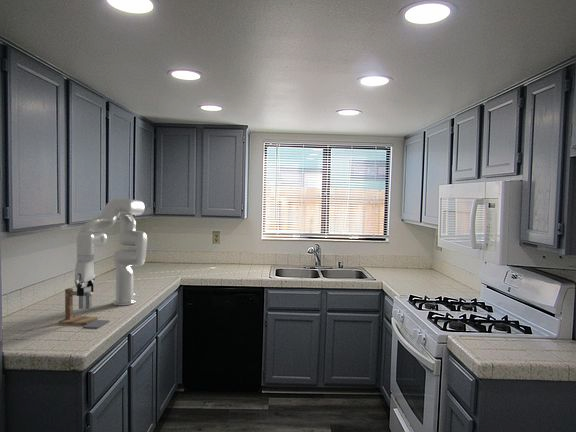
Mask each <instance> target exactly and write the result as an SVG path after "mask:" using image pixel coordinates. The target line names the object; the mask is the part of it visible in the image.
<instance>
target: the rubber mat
mask: <svg viewBox="0 0 576 432" xmlns="http://www.w3.org/2000/svg"><path fill="white" fill-rule="evenodd" d="M108 323H110V320H107V319H106V320H105V319H104V320H103V319H97V320H94V321H92V322H90V323H88V324H87V325H82V329H100V328H102V327H103V326H105V325H107V324H108Z"/></svg>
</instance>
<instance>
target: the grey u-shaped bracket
mask: <svg viewBox="0 0 576 432" xmlns="http://www.w3.org/2000/svg"><path fill="white" fill-rule="evenodd" d="M83 288H84V296H78V309H80V310H84V309H85V310H91V309H92V307H93V305H92V302H93V300H92V299H93V297H92V296H93V295H92V296H86V292H92V286H87V285H86V286H83ZM92 293H93V292H92Z"/></svg>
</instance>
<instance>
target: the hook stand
mask: <svg viewBox="0 0 576 432" xmlns="http://www.w3.org/2000/svg"><path fill="white" fill-rule="evenodd" d="M73 296H77V290H76V291H74V288H66V289H65V290H64V297H65V298H64V302H65V303H64V309H65V310H64V314H65V315H64V317H65V318H63V319H61V320H59V321H58V325H73V326H74V325H75V326H76V325H77V326H85V325H87V324H88V323H90V322H92V321H94V320H99V319H98V316H87V315H86V316H85V315H74V313H73V312H74V311H73V310H74V309H73V307H74V305H73V303H74V299H73ZM86 296H93V292H86Z"/></svg>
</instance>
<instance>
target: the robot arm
mask: <svg viewBox="0 0 576 432" xmlns="http://www.w3.org/2000/svg"><path fill="white" fill-rule="evenodd" d="M145 209H146V208H145V203H144V202H143V201H142V200H139V199H133V198H132V199H131V198H111V199H110V200H109V201H108V202H107V203H106V205H105V207H104V208H103V209H102V211H101V212H100V214H98V216H95V217H93V218H92V219H91V220H89V221H87V222H85V224H83V225H82V226H81V228H80V229H79V231H78V232H77V235H76V262H75V268H74V284H75V288H76V291H77V295H76V297H79V296H84V288H83V287H85V286H84V285H85V283H87V284H86V286H92V293H94V283H95V277H96V273H95V265H94V263H95V262H94V261H95V260H94V259H95V257H94V256H95V252H94V251H95V249H94V247H98V248H99V247H102V246H105V245H106V243H107V241H108V236H107V234H106V233H104V232H102V231H100V230H104V229H108V228H110V227H112V226H114V224H115V223H116V221H117V220H118V218H119V221H120V228H119V235H118V244H119V245H120V246H122V247H124V248H122V249H121V248H120V249H118V250H116V251H115V252H114V254H113V261H114V266H115V300H113V301H112V304H113V305H114V306H122V307H123V306H131V305H134V304H136V303H137V299H134V297H136V293H135V292H134V271H133V268H132V267H142V266H143V265H144V264H145V262H146V258H147V248H148V235H147V234H146V232H144V231H142V230H137V227H136V226H137V221H136V220H135V218H134V216H141V215H142V214H144V212H145ZM125 247H127V248H125ZM131 248H132V249H131ZM133 248H134V249H133Z"/></svg>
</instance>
